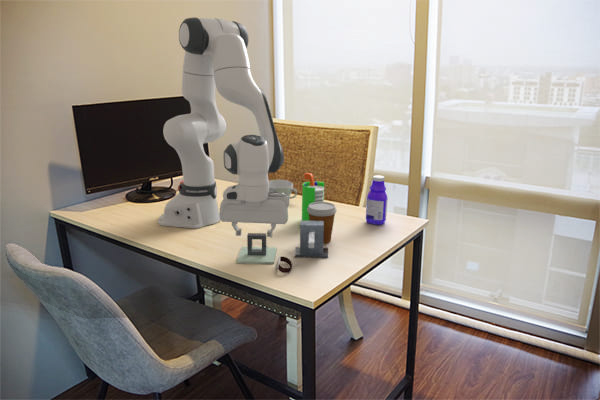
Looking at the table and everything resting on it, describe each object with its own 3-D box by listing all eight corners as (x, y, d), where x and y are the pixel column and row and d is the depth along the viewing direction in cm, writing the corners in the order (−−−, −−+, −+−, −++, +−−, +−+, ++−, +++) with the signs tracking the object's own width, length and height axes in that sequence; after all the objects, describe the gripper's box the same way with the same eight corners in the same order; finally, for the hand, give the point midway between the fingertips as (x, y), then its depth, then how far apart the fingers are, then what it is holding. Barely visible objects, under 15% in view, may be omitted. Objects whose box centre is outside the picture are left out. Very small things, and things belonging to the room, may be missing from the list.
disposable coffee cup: (326, 248, 152) (327, 212, 148) (301, 242, 156) (301, 207, 153) (340, 238, 159) (341, 204, 156) (315, 233, 164) (316, 199, 161)
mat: (236, 263, 141) (236, 261, 140) (242, 248, 151) (242, 246, 151) (273, 263, 140) (273, 262, 140) (276, 249, 151) (276, 247, 150)
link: (247, 255, 145) (247, 235, 143) (248, 252, 146) (248, 233, 145) (265, 255, 144) (265, 235, 142) (266, 252, 146) (266, 233, 144)
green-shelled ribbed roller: (321, 226, 170) (322, 177, 165) (299, 225, 172) (299, 176, 166) (325, 218, 179) (326, 171, 173) (304, 216, 180) (304, 170, 175)
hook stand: (293, 270, 136) (293, 237, 133) (295, 249, 150) (295, 219, 148) (328, 270, 136) (329, 238, 133) (327, 250, 150) (328, 219, 147)
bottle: (387, 221, 175) (390, 175, 170) (383, 226, 170) (386, 179, 165) (368, 218, 178) (370, 173, 173) (363, 223, 173) (366, 177, 168)
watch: (275, 263, 141) (275, 252, 140) (291, 263, 141) (291, 251, 140) (276, 275, 134) (276, 263, 133) (293, 274, 134) (293, 262, 133)
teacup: (256, 203, 195) (256, 185, 193) (272, 196, 206) (271, 178, 204) (289, 209, 189) (289, 189, 186) (303, 200, 200) (303, 182, 197)
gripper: (290, 190, 142) (289, 233, 146) (222, 187, 143) (223, 230, 147) (288, 196, 136) (287, 241, 140) (217, 193, 137) (218, 238, 141)
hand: (254, 235), depth 144 cm, fingers open, 8 cm apart
